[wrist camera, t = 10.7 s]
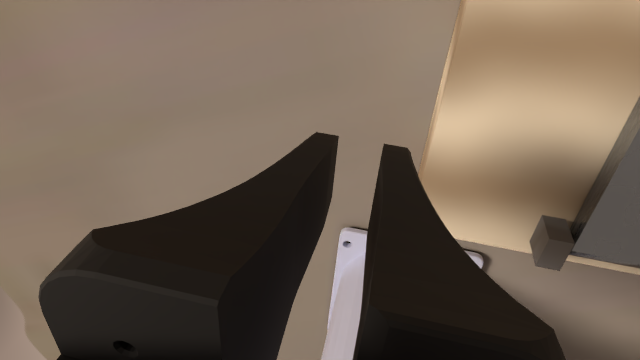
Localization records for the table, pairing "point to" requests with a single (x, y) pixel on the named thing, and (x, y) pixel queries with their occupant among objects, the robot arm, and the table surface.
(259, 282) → the robot arm
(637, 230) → the gray rectangular block
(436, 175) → the board
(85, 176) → the table surface
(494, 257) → the table surface
